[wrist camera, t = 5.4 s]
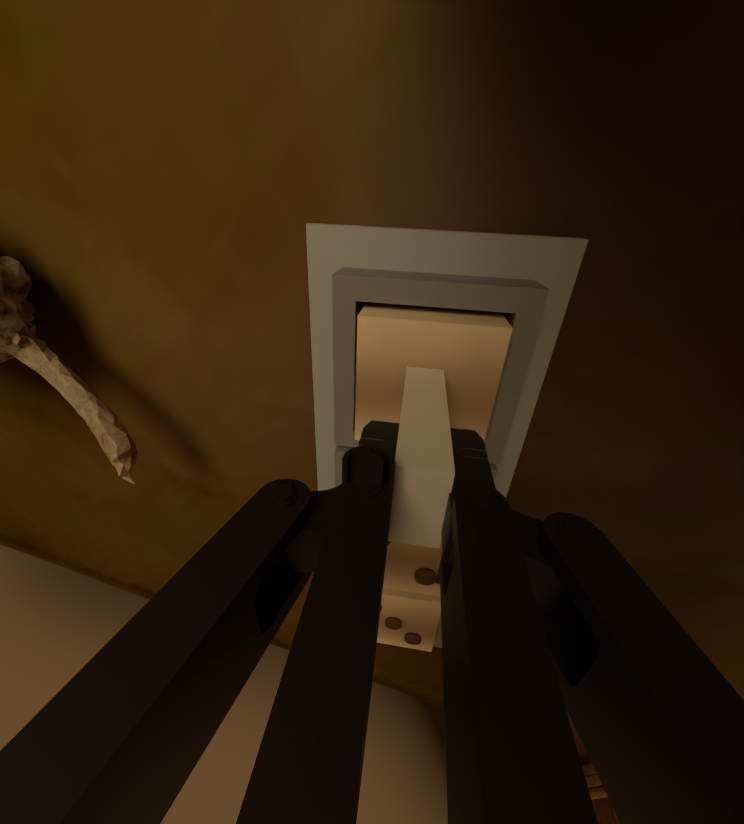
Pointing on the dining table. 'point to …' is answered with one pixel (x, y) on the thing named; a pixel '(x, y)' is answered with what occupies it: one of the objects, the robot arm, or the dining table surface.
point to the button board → (435, 287)
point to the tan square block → (429, 360)
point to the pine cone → (56, 367)
